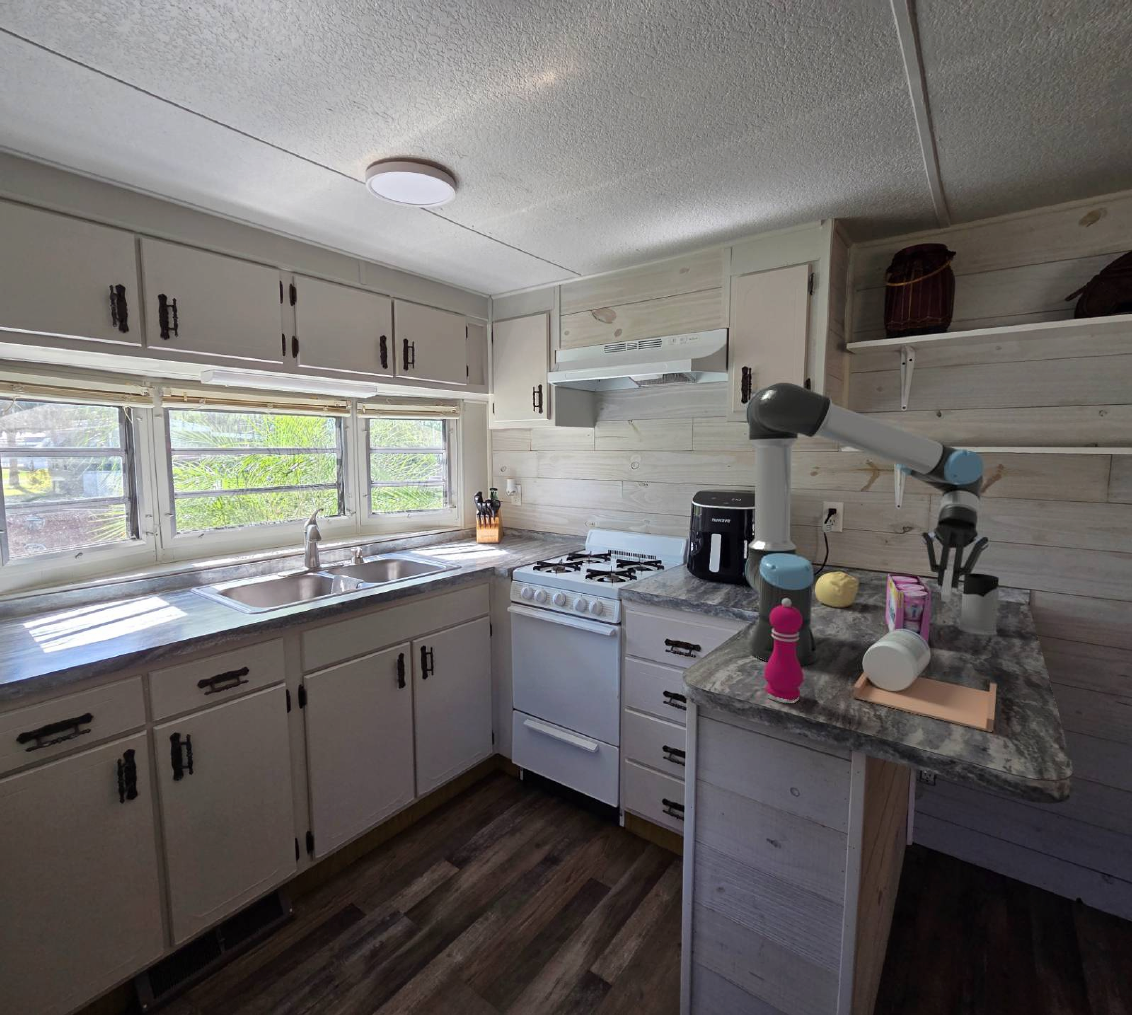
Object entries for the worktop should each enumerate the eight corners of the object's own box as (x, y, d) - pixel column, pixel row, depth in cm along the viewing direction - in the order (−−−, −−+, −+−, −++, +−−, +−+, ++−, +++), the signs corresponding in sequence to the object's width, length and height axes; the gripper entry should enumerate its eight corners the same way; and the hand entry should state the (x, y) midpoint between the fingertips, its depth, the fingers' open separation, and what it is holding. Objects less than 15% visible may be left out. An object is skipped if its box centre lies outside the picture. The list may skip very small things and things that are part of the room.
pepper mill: (802, 707, 107) (807, 605, 105) (762, 701, 109) (766, 601, 107) (801, 692, 113) (806, 595, 111) (764, 687, 116) (767, 592, 114)
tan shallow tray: (872, 669, 125) (872, 658, 125) (995, 696, 112) (996, 684, 112) (853, 698, 111) (853, 686, 110) (992, 733, 97) (994, 719, 97)
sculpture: (844, 612, 170) (846, 577, 169) (807, 603, 180) (809, 570, 179) (863, 606, 177) (865, 572, 176) (826, 598, 186) (828, 566, 185)
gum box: (930, 648, 139) (933, 594, 138) (893, 643, 142) (896, 591, 141) (916, 621, 161) (919, 575, 159) (884, 618, 164) (887, 572, 163)
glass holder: (989, 637, 147) (993, 581, 146) (930, 623, 159) (933, 571, 157) (1002, 631, 152) (1007, 577, 150) (944, 618, 164) (948, 568, 162)
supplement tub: (878, 628, 126) (857, 643, 116) (926, 627, 120) (908, 643, 109) (887, 671, 126) (866, 690, 115) (936, 673, 119) (918, 693, 109)
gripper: (992, 526, 132) (982, 612, 121) (926, 522, 140) (912, 602, 129) (992, 506, 127) (982, 593, 116) (925, 503, 135) (909, 584, 125)
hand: (945, 598), depth 123 cm, fingers closed
